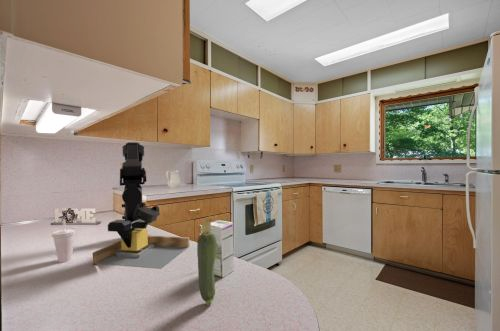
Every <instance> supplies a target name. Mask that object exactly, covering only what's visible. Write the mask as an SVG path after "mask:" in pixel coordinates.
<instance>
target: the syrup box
mask: <svg viewBox="0 0 500 331" xmlns="http://www.w3.org/2000/svg"><path fill="white" fill-rule="evenodd" d="M210 223H211V229H210V230H211V231H210V232H212V233H213V234H214V236H215V238H216V242H217V248H216V257H215V262H214V276H216V277H220V278H225V277H227V276H228V275H230V274H231V273H233V272H234V271H235V257H234V256H235V255H234V251H235V250H234V223H233V221H227V220H226V221H225V220H219V219H218V220H214V221H213V222H211V221H210Z"/></svg>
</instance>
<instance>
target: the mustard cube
mask: <svg viewBox="0 0 500 331" xmlns="http://www.w3.org/2000/svg"><path fill="white" fill-rule="evenodd" d="M147 235H148V228H147V227H146V228H135V229H134V230H133V232H132V237H131V247H130V248H128V247H127V246H126V244H125V243H124V241H123V240H122V238H121V237H120V238H121V239H120V240H121V244H122V250H132V251H138V250H139V249H141V248H143V247H145V246H147V245H148V236H147Z"/></svg>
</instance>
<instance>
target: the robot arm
mask: <svg viewBox="0 0 500 331" xmlns="http://www.w3.org/2000/svg"><path fill="white" fill-rule="evenodd" d="M122 157H123V158H124V162H123V163H122V166H121V168H119V186H124V188H123V192H122V195H121V198H122V201H123V202H124V203H121V208H124V211H123V212H124V213H123V214H124V215H122V216H121V219H116V220H113V221H110V222H109V223H108V224H107V231H108V232H115V233H117V234H118V235H119V236H120V238H122V240H123V241H124V243H125V244H126V246H127V247H128V248H130V247H131V237H132V232H133V230H134V229H135V228H147V227H148V225H150V224H152V222H156V221H157V218H158V216H160V215H161V213H160V212H161V211H160V207H159V206H157V205H154V206H152V207H147V205H146V202H145V201H144V202H143V187H142V186H143V185H146V184H145V183H147V170H145V169H146V168H145V167H143V163H142V162H143V157H145V146H144V145H142V144H140V143H139V142H135V141H131V142H125V145H123V146H122Z"/></svg>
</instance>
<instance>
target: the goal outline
mask: <svg viewBox="0 0 500 331" xmlns="http://www.w3.org/2000/svg"><path fill="white" fill-rule="evenodd" d="M143 248H147V249H145V250H143V251H141V252H140V253H138V254H137V253H123V252H125V251H127V250H122V249H121V250H119V251H117V252H115V253H114V256H118V257H132V258H139V257H141V256H142V255H144V254H146V253H147V252H149V251H151V250H152V249H154V245H147V246H145V247H143Z"/></svg>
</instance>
